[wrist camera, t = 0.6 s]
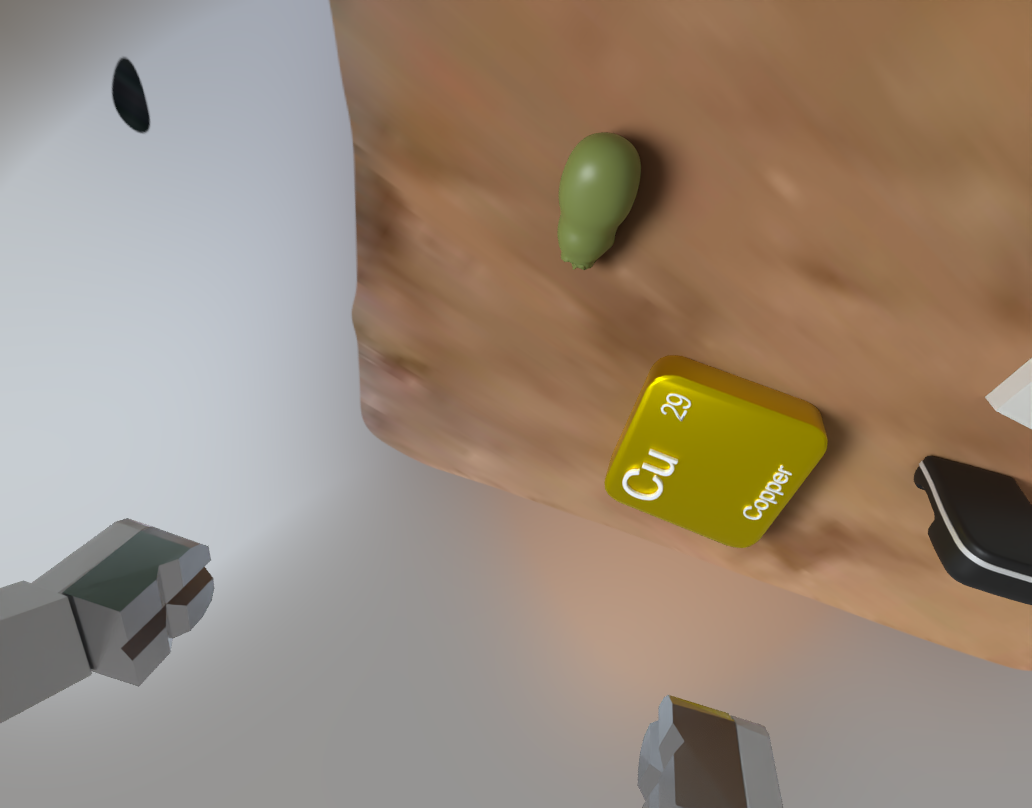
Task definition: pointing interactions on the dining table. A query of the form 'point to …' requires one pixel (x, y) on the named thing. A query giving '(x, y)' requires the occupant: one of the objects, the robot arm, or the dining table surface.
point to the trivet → (1015, 396)
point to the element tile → (714, 451)
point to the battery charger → (979, 527)
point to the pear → (596, 196)
